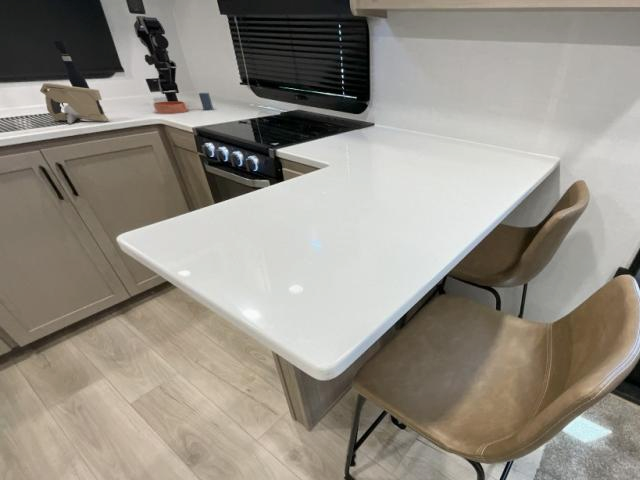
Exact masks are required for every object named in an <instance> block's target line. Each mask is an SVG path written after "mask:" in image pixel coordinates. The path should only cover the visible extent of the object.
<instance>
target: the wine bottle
mask: <svg viewBox="0 0 640 480" xmlns="http://www.w3.org/2000/svg"><path fill="white" fill-rule="evenodd" d="M52 42H53V45H54V46H55V48H56V50H59V52H60V55H61V58H62V60H63V61H62V63H63V64H64V66H65V68H66V74H67V77H68V81H69V82H70V86H73V87H80V88H88V89H91V88H90V87H89V84H88V82H87V80H86V78H85V77H84V75H83V74H82V73H81V72H80V71H79V69H78V68H77V66H76V64H75V63H74V61H73V60H72V57H71V56H70V55H69V53H68V51H67V50H68V48H67V45H66V44H65V41H64V40H52Z"/></svg>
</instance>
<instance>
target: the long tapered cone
mask: <svg viewBox="0 0 640 480" xmlns="http://www.w3.org/2000/svg"><path fill="white" fill-rule="evenodd" d="M63 111H64V113H69V114H67V115H66V118H67V119H66V121H67V123H68V124H70V125H71V124H73V123H75V122H76V121H77V120H79V119H78V118H75V117H74V116H73V115H79V114H78V113H77V112H76V111H75V110H74V109H72V108H71V107H70V106H69V105H68V104H67V105H65V106H64V108H63Z"/></svg>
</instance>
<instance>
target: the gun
mask: <svg viewBox="0 0 640 480" xmlns="http://www.w3.org/2000/svg"><path fill="white" fill-rule="evenodd" d="M39 92H40V93H42V94H43V95H45V97H44V99H45V105H46V111H47V112H48V113H49V114H50V116H51V117H52V118H53V120H55V121H61V120H67V118H66V115H67V114H69V113H65V112H63V111H62V107H65V105H64V104H67V105H69V106H70V107H71V108H72V109H74V110H75V111H76V112H77V113H78V114H79V115H73V116H74V117H75V118H78V119H77V120H83V121H93V122H102V123H105V122H108V121H110V119H109V118H108V117H107V115H105V111H104V109H103V106H102V105H101V103H100V101H102V100H103V99H102V96H101V93H100V89H96V88H90V89H88V88H80V87H73V86H72V85H69V84H68V85H67V84H59V83H53V82H44V83H43V84H42V86H41V88H40V90H39Z"/></svg>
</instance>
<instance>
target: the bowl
mask: <svg viewBox="0 0 640 480" xmlns="http://www.w3.org/2000/svg"><path fill="white" fill-rule="evenodd" d="M152 106H153V108H154V111H155V113H156V114H165V115H167V114H168V115H169V114H170V115H171V114H172V115H173V114H181V113H186V112H188V108H187V104H186V102H185V101H181V100H180V101H179V100H178V101H167V100H165V101H158V102H153V103H152Z"/></svg>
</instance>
